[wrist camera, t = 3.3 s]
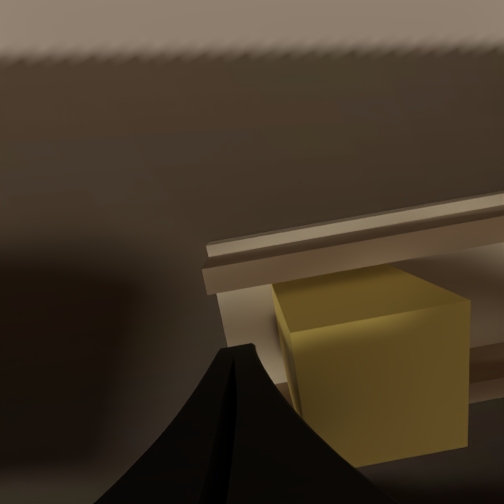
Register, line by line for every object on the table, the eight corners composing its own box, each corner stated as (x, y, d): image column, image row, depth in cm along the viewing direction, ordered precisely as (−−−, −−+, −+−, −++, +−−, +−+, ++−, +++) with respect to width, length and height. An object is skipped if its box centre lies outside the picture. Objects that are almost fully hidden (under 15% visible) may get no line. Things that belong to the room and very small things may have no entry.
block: (385, 357, 12) (467, 446, 8) (285, 375, 12) (311, 475, 8) (379, 260, 11) (470, 300, 7) (270, 279, 11) (290, 332, 7)
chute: (627, 329, 14) (779, 379, 10) (242, 400, 14) (243, 480, 10) (656, 163, 12) (858, 145, 8) (209, 242, 12) (193, 263, 8)
